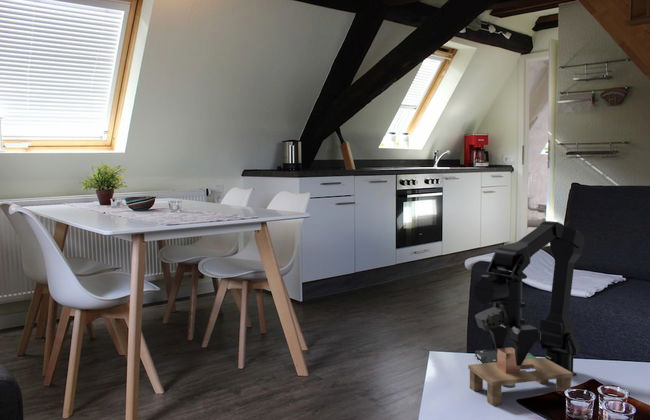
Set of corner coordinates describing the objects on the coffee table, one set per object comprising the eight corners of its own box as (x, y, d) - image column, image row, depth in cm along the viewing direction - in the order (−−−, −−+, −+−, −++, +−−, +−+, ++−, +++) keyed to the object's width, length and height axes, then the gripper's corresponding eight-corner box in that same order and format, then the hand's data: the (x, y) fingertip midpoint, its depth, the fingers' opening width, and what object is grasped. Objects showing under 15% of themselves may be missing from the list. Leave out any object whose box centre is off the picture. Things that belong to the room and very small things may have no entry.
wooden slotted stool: (543, 379, 156) (543, 357, 156) (572, 396, 145) (572, 373, 144) (468, 387, 151) (468, 364, 151) (491, 406, 140) (492, 381, 139)
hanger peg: (511, 381, 150) (511, 347, 149) (519, 387, 146) (520, 352, 145) (497, 383, 149) (497, 348, 148) (505, 389, 145) (505, 353, 144)
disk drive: (489, 371, 164) (538, 367, 167) (489, 362, 164) (538, 357, 166) (474, 359, 174) (521, 355, 177) (474, 350, 174) (521, 346, 176)
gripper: (462, 291, 152) (461, 350, 154) (499, 309, 134) (498, 375, 136) (501, 289, 155) (500, 347, 156) (543, 306, 137) (541, 371, 138)
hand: (508, 359), depth 147 cm, fingers open, 9 cm apart
